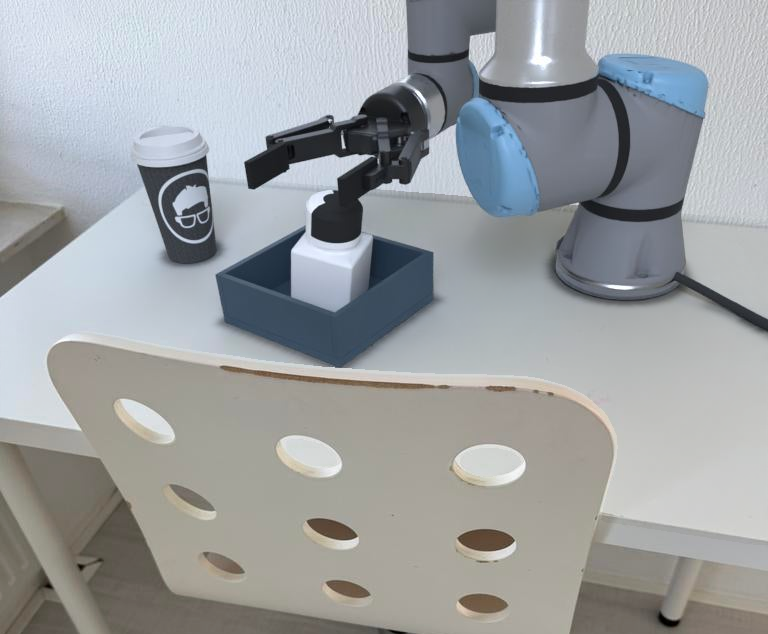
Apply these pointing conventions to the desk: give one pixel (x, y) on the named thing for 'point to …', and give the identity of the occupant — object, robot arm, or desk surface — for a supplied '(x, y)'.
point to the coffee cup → (178, 189)
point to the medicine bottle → (331, 254)
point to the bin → (315, 324)
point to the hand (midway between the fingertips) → (293, 184)
